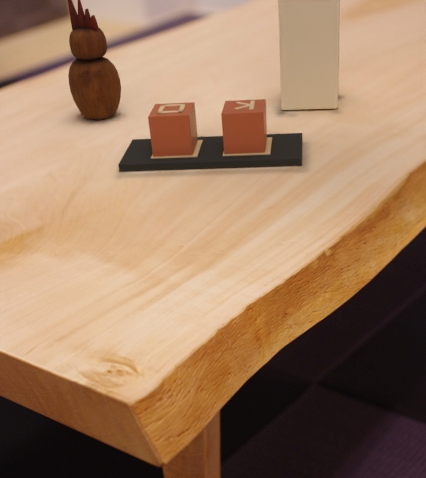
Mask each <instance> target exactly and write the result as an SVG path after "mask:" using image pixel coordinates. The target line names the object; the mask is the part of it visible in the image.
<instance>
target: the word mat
mask: <svg viewBox="0 0 426 478" xmlns="http://www.w3.org/2000/svg"><path fill="white" fill-rule="evenodd" d="M302 165H303V133H302V132H291V133H290V132H288V133H287V132H286V133H267V142H266V150H265V152H264V153H236V154H224V145H223V135H212V136H210V135H209V136H198V142H197V145H196V148H195V150H194V153H193V155H181V156H153V152H152V144H151V138H135V139H134V138H133V139H132V140H131V141H130V143H129V145H128V146H127V149H126V150H125V152H124V154H123V156H122V157H121V159H120V161H119V163H118V171H119V172H136V171H137V172H139V171H141V172H142V171H167V170H168V171H170V170H199V169H201V170H202V169H203V170H204V169H229V168H230V169H231V168H233V169H234V168H253V167H254V168H261V167H263V168H265V167H291V166H292V167H293V166H295V167H296V166H302Z"/></svg>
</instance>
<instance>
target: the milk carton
mask: <svg viewBox="0 0 426 478" xmlns="http://www.w3.org/2000/svg"><path fill="white" fill-rule="evenodd" d="M277 3H278V5H277V7H278V38H279V39H278V40H279V41H278V42H279V70H280V71H279V72H280V73H279V74H280V107H281V110H282V111H293V110H294V111H296V110H330V109H338V107H339V92H340V91H339V90H340V88H339V87H340V32H341V31H340V25H341V23H340V21H341V18H340V17H341V16H340V15H341V0H277Z"/></svg>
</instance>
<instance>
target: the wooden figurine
mask: <svg viewBox="0 0 426 478" xmlns="http://www.w3.org/2000/svg"><path fill="white" fill-rule="evenodd" d="M67 6H68V12H69V18H70V25H71V26H70V27H71V32H70V34H69V37H68V38H69V39H68V43H69V49H70V53H71V54H72V56H73V57H74V58H75V59H74V60H72V62H71V64H70V66H69V68H68V76H67V77H68V86H69V91H70V94H71V96H72V99H73V101H74V103H75V106H76V107H77V110H78V111H79V112H80V114H81V115H82V116H83V117H85V118H86V119H90V120H104V119H107V118H110V117H112V116H114V115H116V113H117V111H118V109H119V107H120V103H121V102H120V101H121V97H122V84H121V79H120V74H119V72H118V71H119V70H118V69H117V67H116V66H115V64H114V63H113V62H112V61H111V60H110V59H109V58H107V57H105V55H106V53H108V52H107V51H108V43H107V38H106V35H105V33H104V31H103V30H102V29H101V28H100V27H99V25H98V21H97V18H96V15H95V14H92V15H91V14H90V10H89V8H85V9H84V8H83V5H82V0H77V10H76V7H75V5H74V2H73V0H67Z"/></svg>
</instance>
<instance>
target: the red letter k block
mask: <svg viewBox="0 0 426 478" xmlns="http://www.w3.org/2000/svg"><path fill="white" fill-rule="evenodd" d="M266 105H267V101H266V98H262V99H261V98H260V99H259V98H258V99H257V98H256V99H235V100H225V101H224V104H223V107H222V111H221V112H220V113H221V114H220V116H221V129H222V136H223V145H224V154H236V153H264V152H265V150H266V142H267V134H268V124H267V106H266Z"/></svg>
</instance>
